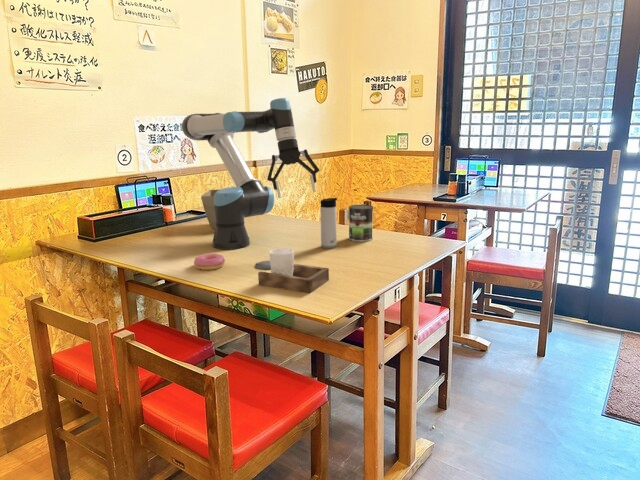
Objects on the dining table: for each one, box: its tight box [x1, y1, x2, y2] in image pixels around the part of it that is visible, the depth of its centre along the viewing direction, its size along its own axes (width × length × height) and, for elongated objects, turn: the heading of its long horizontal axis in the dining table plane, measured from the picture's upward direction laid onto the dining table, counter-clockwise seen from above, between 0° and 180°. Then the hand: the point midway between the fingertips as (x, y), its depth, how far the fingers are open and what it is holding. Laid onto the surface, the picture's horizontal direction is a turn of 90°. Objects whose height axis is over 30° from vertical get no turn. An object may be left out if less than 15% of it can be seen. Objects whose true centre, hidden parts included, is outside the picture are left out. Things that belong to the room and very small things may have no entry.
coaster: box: [255, 260, 271, 271], centre depth 176 cm, size 9×9×1 cm
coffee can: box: [348, 204, 374, 243], centre depth 209 cm, size 10×10×14 cm
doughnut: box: [193, 253, 226, 271], centre depth 176 cm, size 11×11×4 cm
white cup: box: [269, 247, 295, 276], centre depth 158 cm, size 8×8×10 cm
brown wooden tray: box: [257, 263, 330, 294], centre depth 157 cm, size 18×13×4 cm
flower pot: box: [200, 188, 222, 230], centre depth 237 cm, size 19×19×17 cm
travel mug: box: [320, 197, 338, 250], centre depth 197 cm, size 6×7×20 cm
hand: (297, 194), depth 189 cm, fingers open, 13 cm apart
